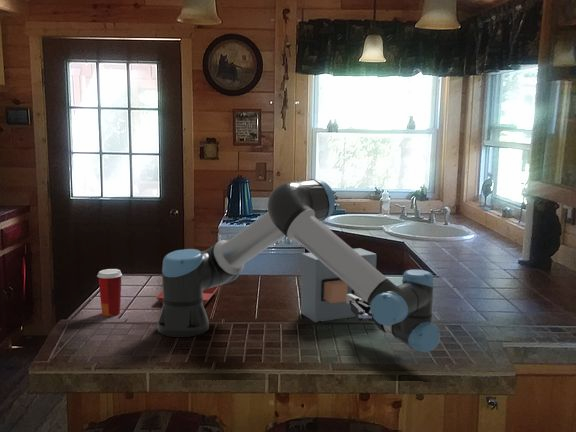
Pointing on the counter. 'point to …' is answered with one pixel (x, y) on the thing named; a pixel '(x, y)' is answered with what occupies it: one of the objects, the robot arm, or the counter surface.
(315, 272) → the box
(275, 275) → the counter surface
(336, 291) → the rust button
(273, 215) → the robot arm
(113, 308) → the paper cup
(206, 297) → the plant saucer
